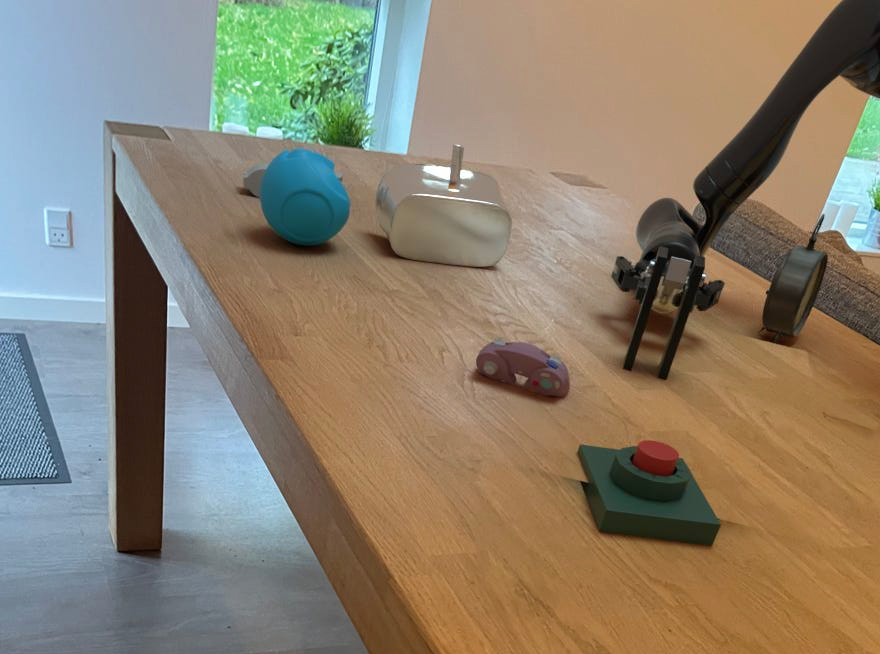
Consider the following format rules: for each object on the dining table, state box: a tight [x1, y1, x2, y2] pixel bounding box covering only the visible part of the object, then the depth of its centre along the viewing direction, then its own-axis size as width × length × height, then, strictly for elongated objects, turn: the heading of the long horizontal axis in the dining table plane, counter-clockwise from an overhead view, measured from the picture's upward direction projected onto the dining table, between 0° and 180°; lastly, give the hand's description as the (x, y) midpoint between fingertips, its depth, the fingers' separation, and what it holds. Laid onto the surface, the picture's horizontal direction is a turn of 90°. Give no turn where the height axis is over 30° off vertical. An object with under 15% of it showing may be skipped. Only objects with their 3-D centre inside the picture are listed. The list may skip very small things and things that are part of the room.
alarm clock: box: [757, 213, 829, 345], centre depth 128 cm, size 11×5×16 cm, turn 147°
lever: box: [651, 257, 692, 315], centre depth 111 cm, size 14×4×4 cm, turn 166°
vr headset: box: [375, 143, 513, 268], centre depth 135 cm, size 18×11×14 cm, turn 99°
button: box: [632, 439, 680, 476], centre depth 85 cm, size 4×4×2 cm
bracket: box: [622, 246, 707, 381], centre depth 108 cm, size 12×9×14 cm
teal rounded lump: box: [260, 147, 351, 247], centre depth 129 cm, size 12×11×12 cm
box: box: [577, 443, 722, 547], centre depth 86 cm, size 12×10×4 cm
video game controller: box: [475, 337, 571, 398], centre depth 101 cm, size 10×5×7 cm, turn 68°
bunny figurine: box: [242, 162, 346, 199], centre depth 148 cm, size 10×5×15 cm
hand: (664, 301), depth 113 cm, fingers closed on lever, 4 cm apart
